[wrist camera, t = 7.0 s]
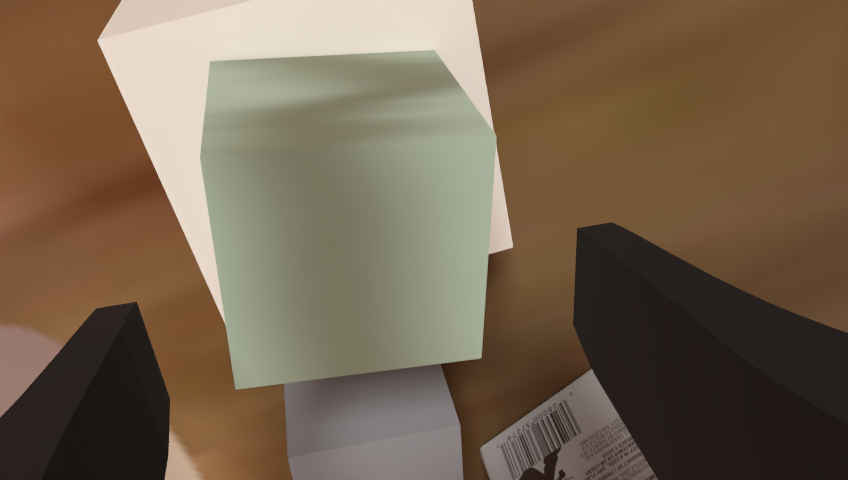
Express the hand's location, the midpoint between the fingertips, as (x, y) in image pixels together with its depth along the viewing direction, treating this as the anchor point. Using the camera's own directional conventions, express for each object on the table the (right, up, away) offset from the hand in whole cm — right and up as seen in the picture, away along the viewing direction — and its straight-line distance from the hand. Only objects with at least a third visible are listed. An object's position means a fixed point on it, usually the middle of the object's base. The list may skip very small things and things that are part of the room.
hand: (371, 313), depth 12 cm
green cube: (-1, +3, +6) cm, 7 cm away
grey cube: (-1, -4, +15) cm, 15 cm away
